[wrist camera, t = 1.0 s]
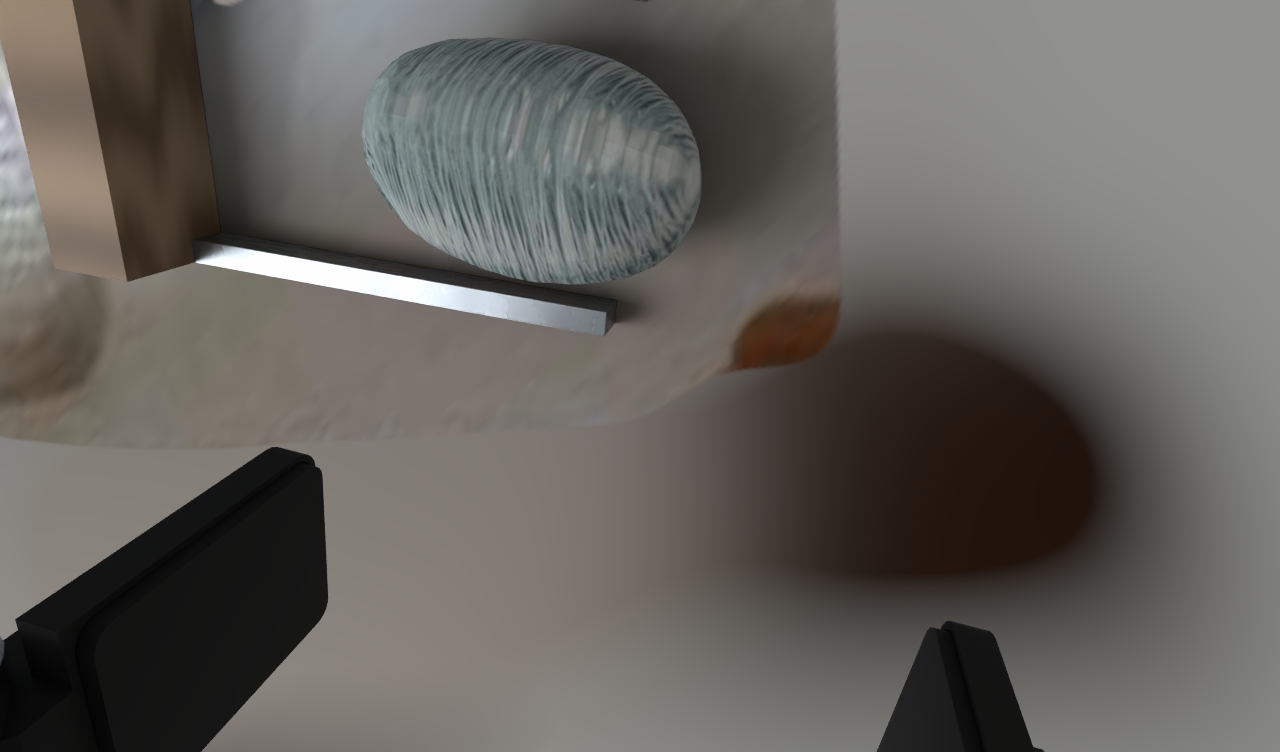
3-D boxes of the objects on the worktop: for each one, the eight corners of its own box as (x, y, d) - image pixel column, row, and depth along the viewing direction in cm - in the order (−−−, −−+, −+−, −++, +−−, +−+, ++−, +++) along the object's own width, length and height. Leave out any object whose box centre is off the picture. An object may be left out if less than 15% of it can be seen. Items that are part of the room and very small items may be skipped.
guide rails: (178, -78, 32) (141, -88, 30) (650, -32, 28) (639, -40, 27) (223, 253, 38) (194, 262, 36) (614, 323, 35) (604, 336, 33)
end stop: (103, -86, 32) (-37, -120, 27) (178, -78, 32) (50, -112, 26) (159, 242, 39) (54, 268, 33) (223, 253, 38) (127, 282, 33)
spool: (368, 255, 32) (296, 200, 23) (420, 59, 33) (370, -79, 23) (650, 328, 34) (696, 307, 25) (695, 143, 35) (759, 49, 25)
